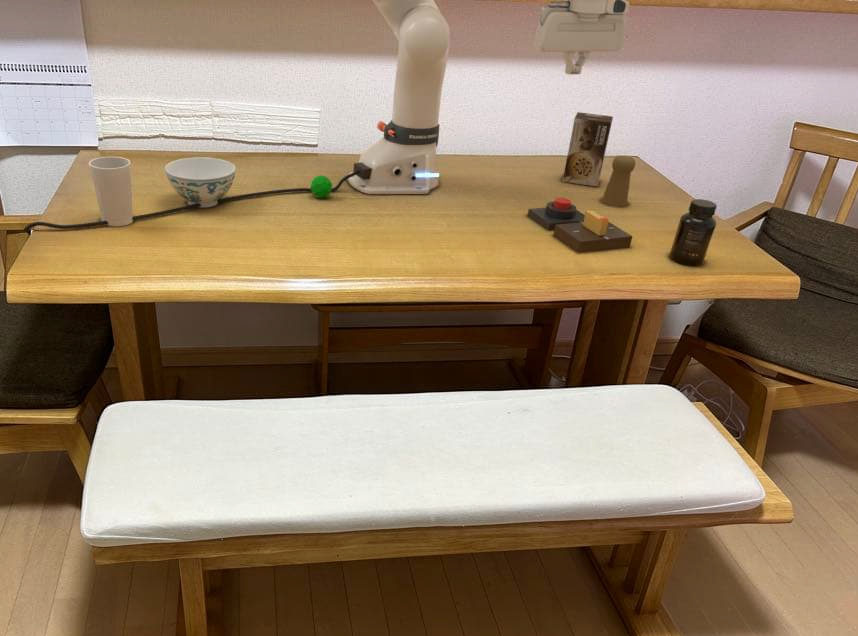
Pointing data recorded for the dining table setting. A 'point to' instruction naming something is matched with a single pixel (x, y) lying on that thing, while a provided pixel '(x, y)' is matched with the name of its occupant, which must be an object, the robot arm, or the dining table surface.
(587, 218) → the upright wooden block
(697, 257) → the supplement bottle
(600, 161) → the coffee box
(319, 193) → the polyhedron
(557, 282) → the dining table surface
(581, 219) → the alarm box
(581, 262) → the dining table surface
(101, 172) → the cup
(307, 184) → the dining table surface
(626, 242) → the clock face plate
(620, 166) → the brown pawn
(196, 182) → the chinaware
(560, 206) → the button
